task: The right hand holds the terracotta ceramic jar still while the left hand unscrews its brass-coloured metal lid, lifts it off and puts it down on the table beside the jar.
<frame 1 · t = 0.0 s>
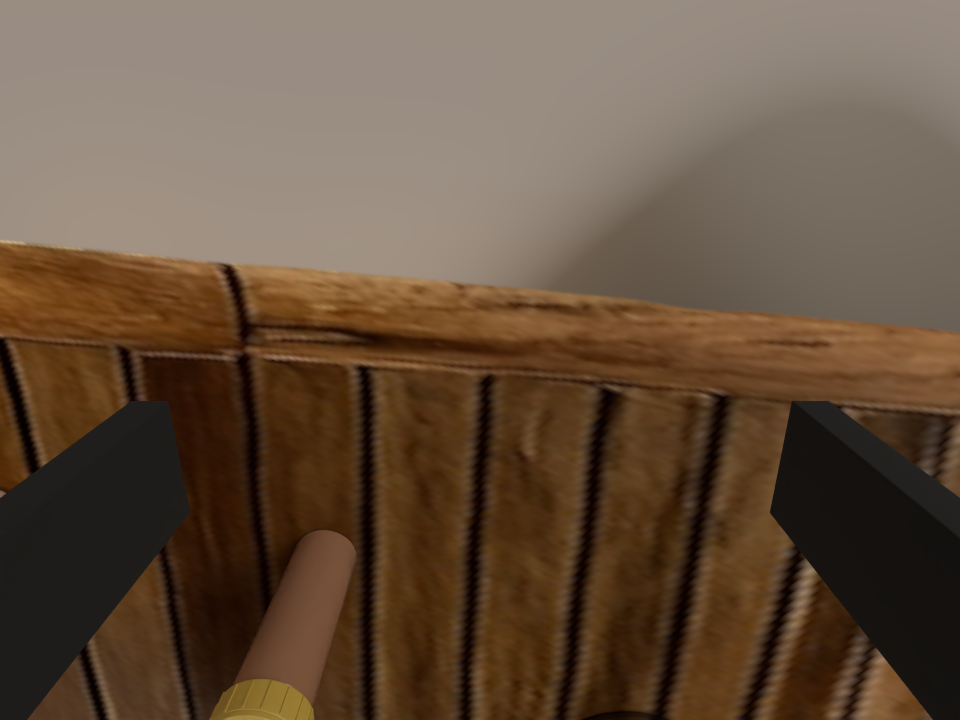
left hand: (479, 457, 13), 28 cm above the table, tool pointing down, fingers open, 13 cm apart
jar: (326, 555, 47), on the table
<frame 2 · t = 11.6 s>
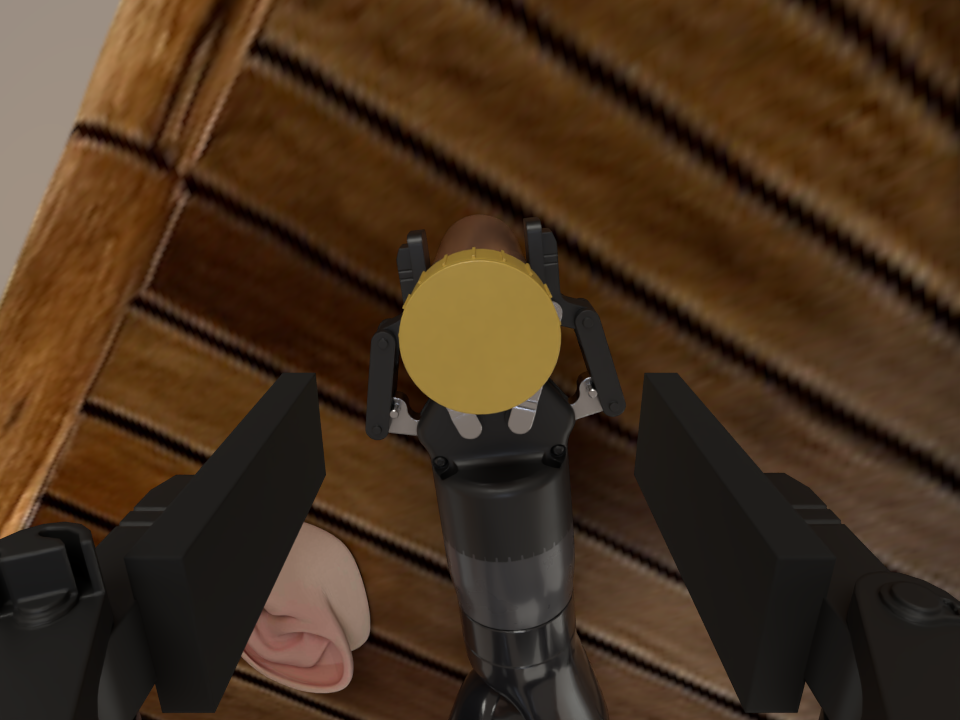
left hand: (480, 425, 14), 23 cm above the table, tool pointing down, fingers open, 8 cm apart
right hand: (473, 227, 28), fingers closed on jar, 5 cm apart
anatomical model: (292, 585, 44), on the table
jar: (479, 256, 36), on the table, touching right hand
lid: (479, 338, 20), point 16 cm above the table, screwed on, not yet turned
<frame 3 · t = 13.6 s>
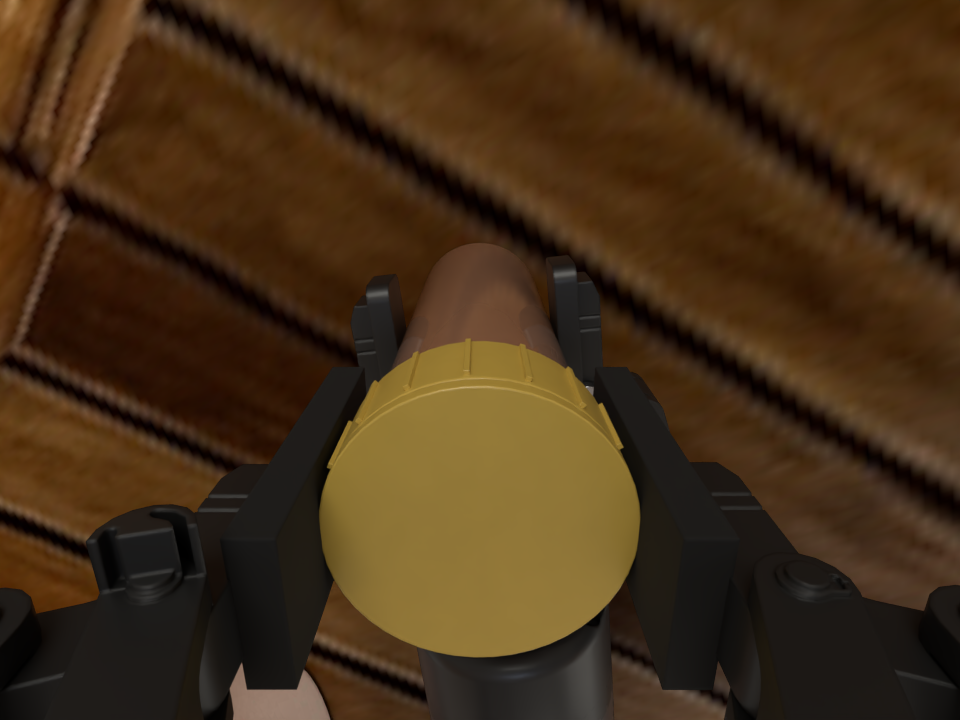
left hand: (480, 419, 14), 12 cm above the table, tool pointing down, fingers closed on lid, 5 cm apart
anatomical model: (237, 715, 34), on the table
jar: (480, 299, 26), on the table, touching right hand
lid: (479, 522, 10), point 16 cm above the table, screwed on, not yet turned, touching left hand
when the left hand's fingers open (0 cm above the table, at t = 31.8 s): lid drops 2 cm, point 2 cm above the table.
when the right hand's fingers open (7 cm above the table, at t = 32.5 s): jar stays where it is, on the table.
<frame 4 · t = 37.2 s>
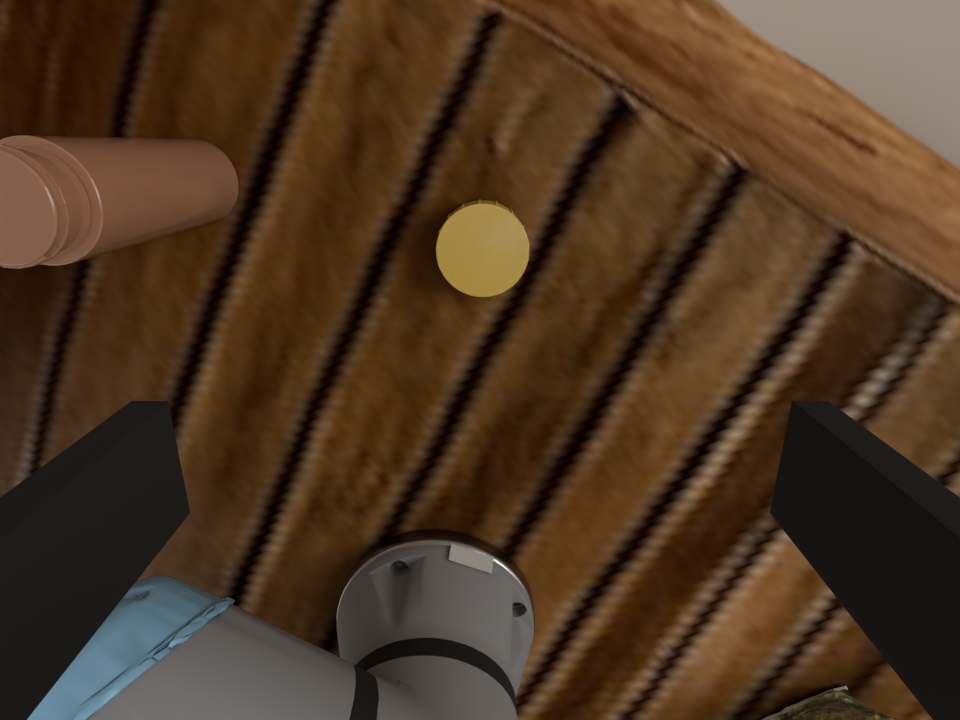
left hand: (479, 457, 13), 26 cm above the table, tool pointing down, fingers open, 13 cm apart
jar: (198, 181, 36), on the table
lid: (482, 250, 35), point 2 cm above the table, off its thread
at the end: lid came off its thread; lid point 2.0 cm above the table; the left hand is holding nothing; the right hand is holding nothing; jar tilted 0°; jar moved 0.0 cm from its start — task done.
